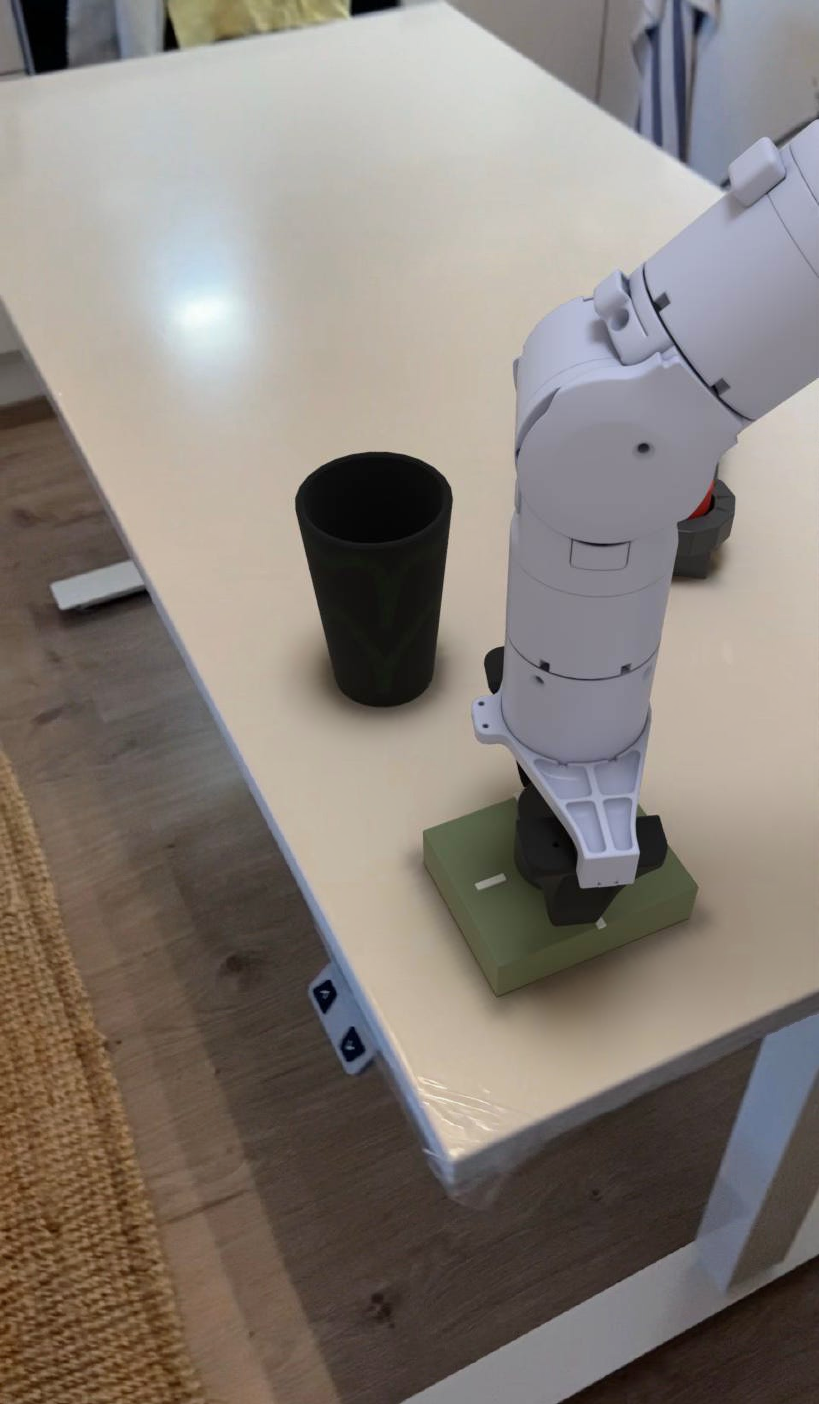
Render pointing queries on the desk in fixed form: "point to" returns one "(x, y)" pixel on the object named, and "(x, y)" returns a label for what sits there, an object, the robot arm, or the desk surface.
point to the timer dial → (528, 807)
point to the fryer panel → (536, 901)
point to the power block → (705, 532)
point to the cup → (377, 569)
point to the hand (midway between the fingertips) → (557, 845)
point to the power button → (702, 505)
